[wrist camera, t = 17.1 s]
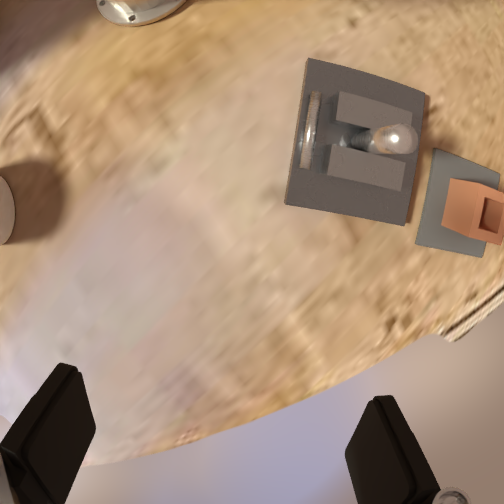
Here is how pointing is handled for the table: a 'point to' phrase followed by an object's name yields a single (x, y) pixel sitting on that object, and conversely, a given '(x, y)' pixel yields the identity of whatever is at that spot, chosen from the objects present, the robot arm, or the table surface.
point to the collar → (474, 211)
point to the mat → (435, 202)
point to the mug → (6, 211)
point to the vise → (355, 144)
